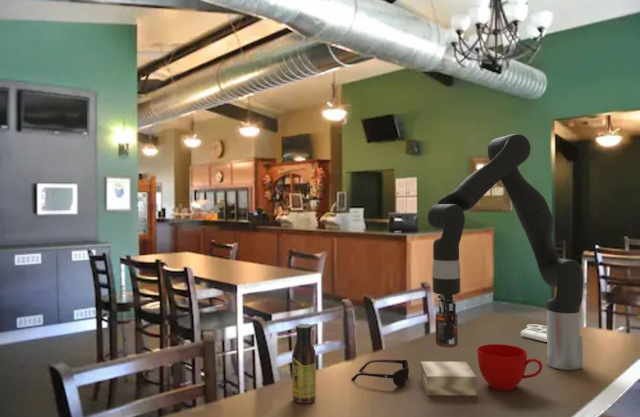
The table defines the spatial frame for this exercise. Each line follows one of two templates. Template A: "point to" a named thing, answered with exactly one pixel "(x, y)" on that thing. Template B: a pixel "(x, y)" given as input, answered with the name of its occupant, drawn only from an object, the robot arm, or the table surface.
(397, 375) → the sunglasses
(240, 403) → the table surface
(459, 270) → the robot arm
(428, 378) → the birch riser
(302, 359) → the sauce bottle
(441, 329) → the supplement bottle
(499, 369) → the ceramic cup
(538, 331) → the white brass knuckles
